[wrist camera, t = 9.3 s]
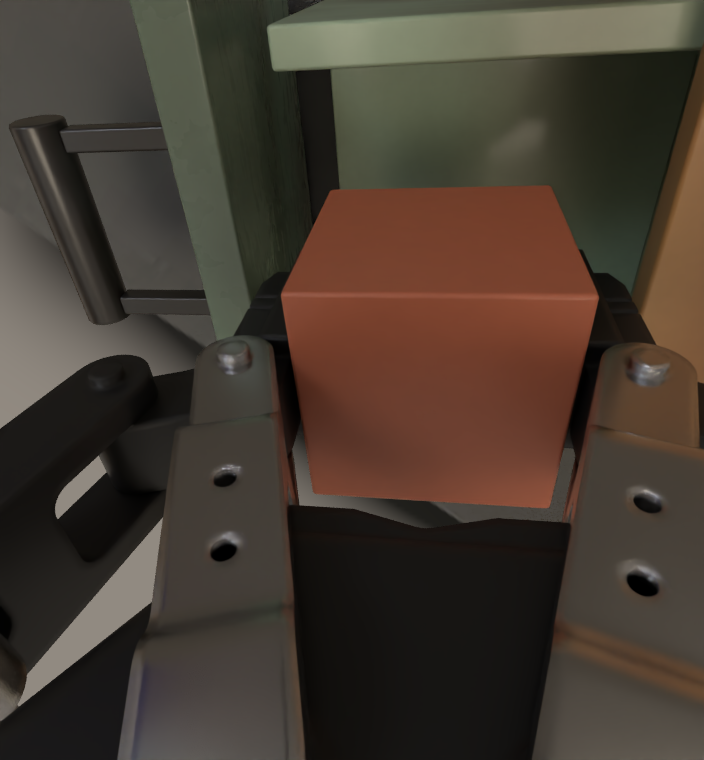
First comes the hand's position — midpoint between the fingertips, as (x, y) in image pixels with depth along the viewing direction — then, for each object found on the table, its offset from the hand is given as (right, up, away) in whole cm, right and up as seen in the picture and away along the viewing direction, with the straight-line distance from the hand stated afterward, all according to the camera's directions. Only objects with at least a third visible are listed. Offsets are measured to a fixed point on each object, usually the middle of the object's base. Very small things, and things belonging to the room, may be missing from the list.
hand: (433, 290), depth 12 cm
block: (0, 0, 0) cm, 0 cm away
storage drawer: (-1, +5, +7) cm, 9 cm away
